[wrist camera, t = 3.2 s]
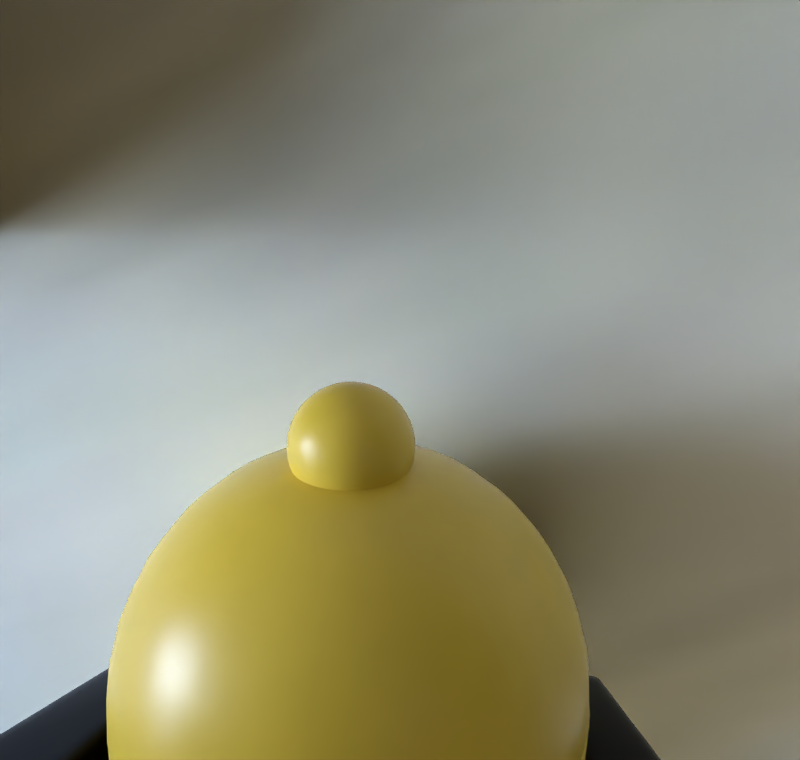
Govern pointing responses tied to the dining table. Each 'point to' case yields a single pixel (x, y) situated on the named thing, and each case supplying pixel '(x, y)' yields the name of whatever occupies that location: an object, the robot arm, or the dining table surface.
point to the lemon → (350, 611)
